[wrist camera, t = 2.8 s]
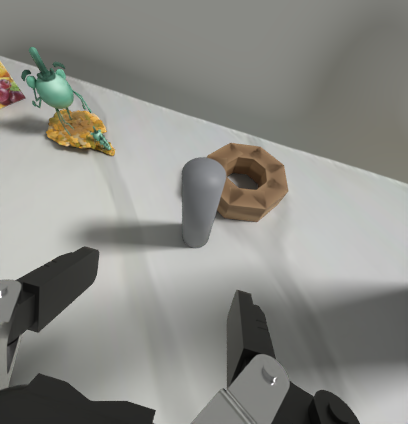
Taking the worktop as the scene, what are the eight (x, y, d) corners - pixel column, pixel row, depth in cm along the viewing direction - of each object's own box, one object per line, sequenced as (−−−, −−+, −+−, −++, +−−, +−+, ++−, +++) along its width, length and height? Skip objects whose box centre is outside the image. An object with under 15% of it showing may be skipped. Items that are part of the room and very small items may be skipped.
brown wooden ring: (272, 165, 39) (281, 149, 35) (280, 224, 32) (291, 212, 29) (206, 156, 38) (208, 140, 35) (200, 215, 32) (203, 201, 28)
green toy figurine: (76, 176, 34) (4, 77, 21) (41, 128, 41) (-27, 35, 29) (127, 151, 37) (90, 55, 25) (86, 112, 45) (43, 23, 32)
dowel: (209, 224, 31) (226, 160, 19) (207, 249, 29) (225, 194, 17) (184, 222, 31) (185, 155, 19) (180, 246, 29) (179, 188, 17)
